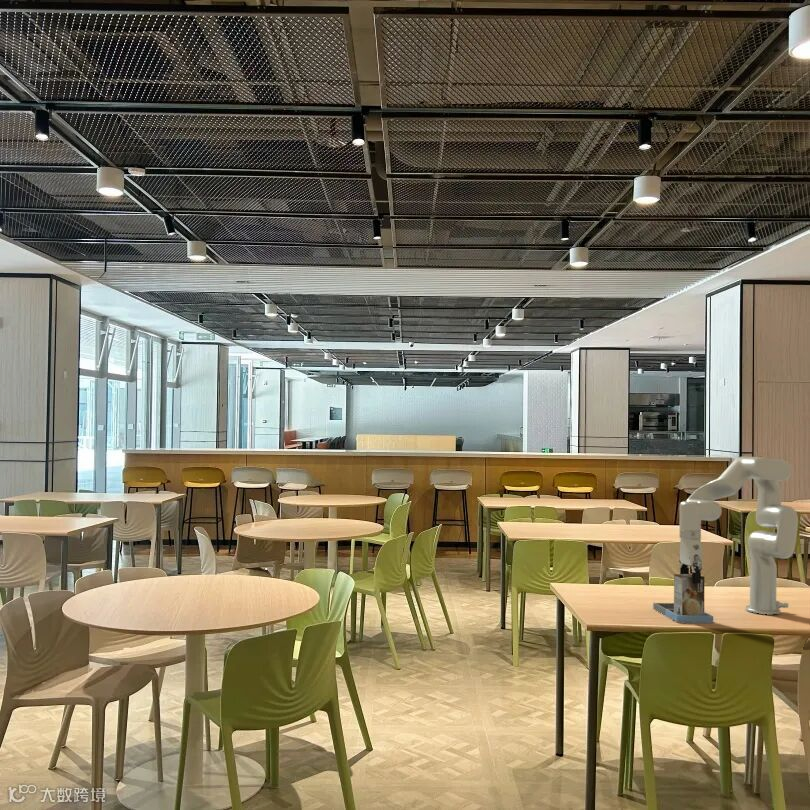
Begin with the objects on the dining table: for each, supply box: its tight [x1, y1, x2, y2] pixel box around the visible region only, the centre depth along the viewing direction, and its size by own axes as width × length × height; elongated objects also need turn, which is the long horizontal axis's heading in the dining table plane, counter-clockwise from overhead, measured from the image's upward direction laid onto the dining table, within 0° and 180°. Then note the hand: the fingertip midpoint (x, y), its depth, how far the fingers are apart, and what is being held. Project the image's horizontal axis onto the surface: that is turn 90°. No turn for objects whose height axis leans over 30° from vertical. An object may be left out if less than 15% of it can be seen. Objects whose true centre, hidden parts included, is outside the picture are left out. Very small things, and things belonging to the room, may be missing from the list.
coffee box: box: [673, 573, 705, 616], centre depth 295 cm, size 9×6×16 cm
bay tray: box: [652, 602, 714, 624], centre depth 300 cm, size 14×22×2 cm, turn 5°
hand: (690, 580), depth 296 cm, fingers open, 9 cm apart
